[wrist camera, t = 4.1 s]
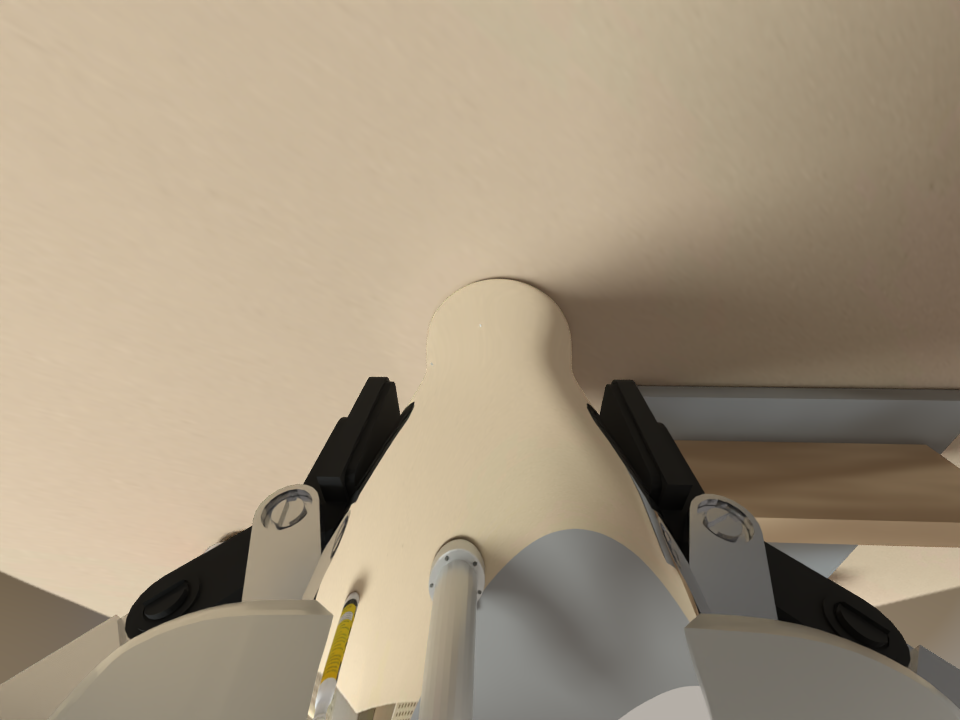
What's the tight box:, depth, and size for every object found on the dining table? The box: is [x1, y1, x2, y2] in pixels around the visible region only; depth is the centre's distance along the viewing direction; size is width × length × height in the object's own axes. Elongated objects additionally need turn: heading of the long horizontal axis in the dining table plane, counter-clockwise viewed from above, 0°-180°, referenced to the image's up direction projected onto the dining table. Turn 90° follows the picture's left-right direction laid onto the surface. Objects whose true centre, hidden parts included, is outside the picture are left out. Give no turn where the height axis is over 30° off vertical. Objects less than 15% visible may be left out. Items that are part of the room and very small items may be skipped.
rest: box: [637, 386, 960, 578], centre depth 19 cm, size 18×15×5 cm
